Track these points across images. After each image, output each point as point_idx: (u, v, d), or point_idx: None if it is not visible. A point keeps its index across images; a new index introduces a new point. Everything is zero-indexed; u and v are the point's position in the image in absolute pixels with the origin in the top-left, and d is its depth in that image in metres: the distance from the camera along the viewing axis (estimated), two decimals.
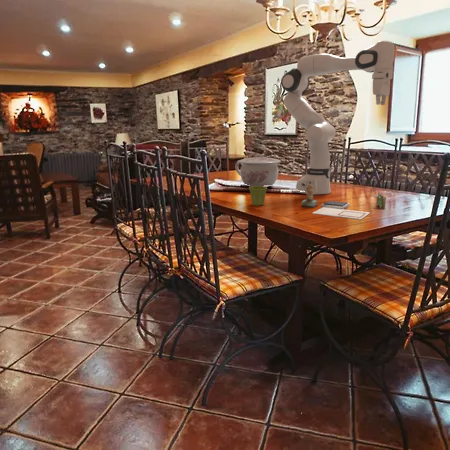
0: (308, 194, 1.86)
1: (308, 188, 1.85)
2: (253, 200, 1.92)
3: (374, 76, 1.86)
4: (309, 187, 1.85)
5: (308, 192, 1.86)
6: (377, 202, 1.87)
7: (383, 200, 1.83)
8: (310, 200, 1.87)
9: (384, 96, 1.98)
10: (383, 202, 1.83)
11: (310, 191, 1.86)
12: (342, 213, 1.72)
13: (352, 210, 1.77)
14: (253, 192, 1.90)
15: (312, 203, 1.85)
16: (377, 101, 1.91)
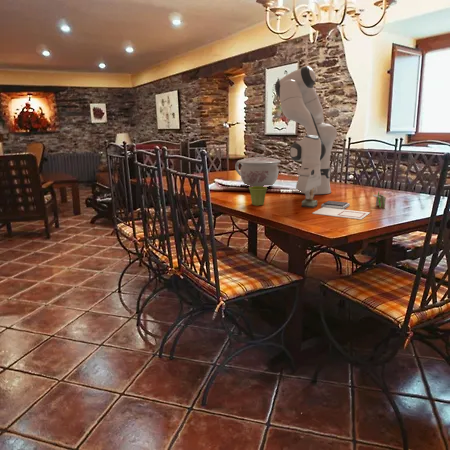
0: None
1: None
2: (253, 200, 1.92)
3: (299, 173, 1.79)
4: None
5: None
6: (377, 202, 1.87)
7: (383, 200, 1.83)
8: (310, 200, 1.87)
9: None
10: (383, 202, 1.83)
11: (310, 191, 1.86)
12: (342, 213, 1.72)
13: (352, 210, 1.77)
14: (253, 192, 1.90)
15: (312, 203, 1.85)
16: (306, 196, 1.85)
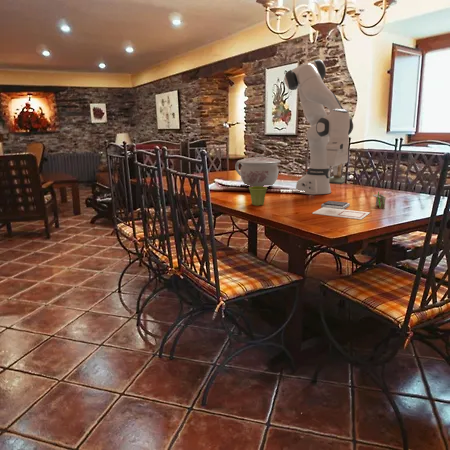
0: None
1: None
2: (253, 200, 1.92)
3: (328, 147, 1.75)
4: None
5: None
6: (377, 202, 1.88)
7: (383, 200, 1.83)
8: (338, 176, 1.82)
9: None
10: (383, 202, 1.83)
11: (338, 167, 1.81)
12: (342, 213, 1.72)
13: (352, 210, 1.77)
14: (253, 192, 1.90)
15: (340, 179, 1.81)
16: (334, 171, 1.81)
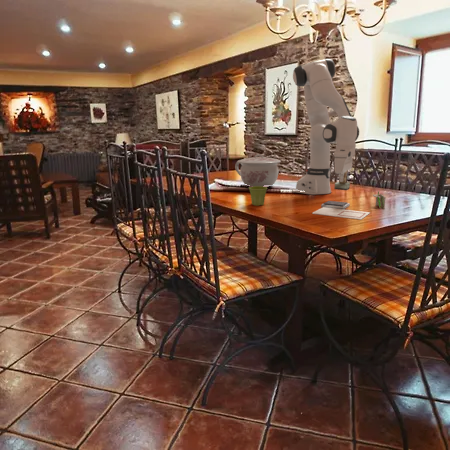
0: None
1: None
2: (253, 200, 1.92)
3: (336, 155, 1.75)
4: None
5: None
6: (377, 202, 1.88)
7: (382, 200, 1.83)
8: (343, 182, 1.84)
9: None
10: (382, 202, 1.83)
11: (344, 173, 1.82)
12: (342, 213, 1.72)
13: (352, 210, 1.77)
14: (253, 192, 1.90)
15: (346, 185, 1.82)
16: (340, 178, 1.82)
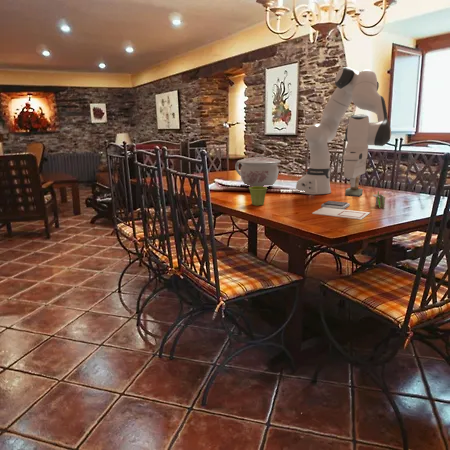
0: None
1: None
2: (253, 200, 1.92)
3: (345, 157, 1.58)
4: None
5: None
6: (376, 202, 1.88)
7: (382, 200, 1.83)
8: (355, 188, 1.66)
9: None
10: (382, 202, 1.83)
11: None
12: (342, 213, 1.72)
13: (352, 210, 1.77)
14: (253, 192, 1.90)
15: (358, 192, 1.64)
16: (351, 183, 1.64)
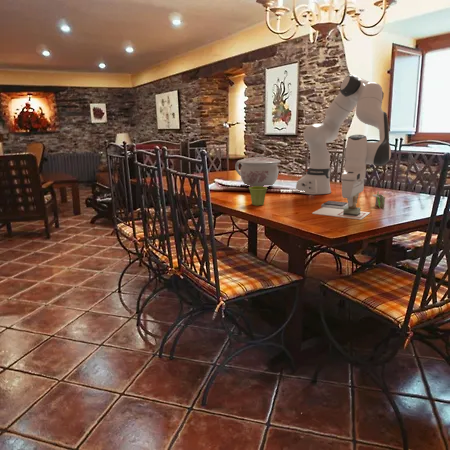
0: None
1: None
2: (253, 200, 1.92)
3: (343, 177, 1.60)
4: None
5: None
6: (376, 202, 1.88)
7: (382, 200, 1.83)
8: (353, 207, 1.68)
9: None
10: (382, 202, 1.83)
11: (353, 197, 1.67)
12: (342, 213, 1.72)
13: None
14: (253, 192, 1.90)
15: (356, 211, 1.67)
16: (349, 203, 1.66)
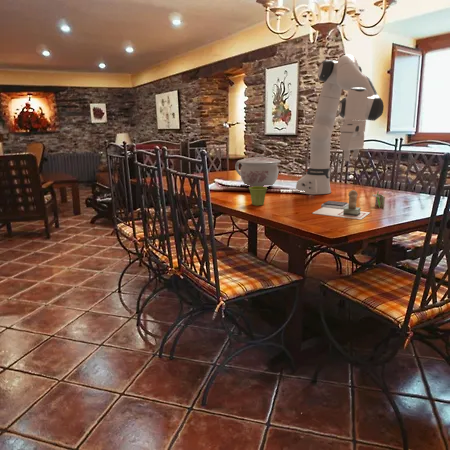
0: (351, 201, 1.68)
1: (351, 194, 1.67)
2: (253, 200, 1.92)
3: (342, 129, 1.58)
4: (352, 193, 1.67)
5: (351, 198, 1.68)
6: (376, 202, 1.88)
7: (382, 200, 1.84)
8: (353, 207, 1.68)
9: (356, 149, 1.70)
10: (382, 202, 1.83)
11: (353, 197, 1.67)
12: (342, 213, 1.72)
13: None
14: (253, 192, 1.90)
15: (356, 211, 1.67)
16: (345, 157, 1.63)
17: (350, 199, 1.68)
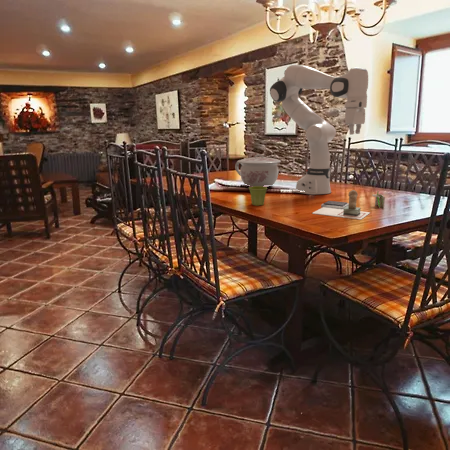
0: (351, 201, 1.68)
1: (351, 194, 1.67)
2: (253, 200, 1.92)
3: (346, 105, 1.75)
4: (352, 193, 1.67)
5: (351, 198, 1.68)
6: (376, 202, 1.88)
7: (382, 200, 1.84)
8: (353, 207, 1.68)
9: (359, 124, 1.87)
10: (382, 202, 1.84)
11: (353, 197, 1.67)
12: (342, 213, 1.72)
13: None
14: (253, 192, 1.90)
15: (356, 211, 1.67)
16: (350, 131, 1.80)
17: (350, 199, 1.68)
